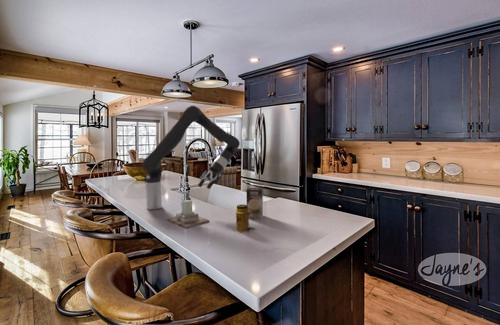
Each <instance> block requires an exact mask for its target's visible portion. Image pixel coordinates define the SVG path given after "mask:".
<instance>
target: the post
mask: <svg viewBox="0 0 500 325" xmlns="http://www.w3.org/2000/svg"><path fill="white" fill-rule="evenodd" d="M192 212H193V201H192V200H190V199H185V200H181V213H182V215H183V216H188V215H192Z"/></svg>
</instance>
